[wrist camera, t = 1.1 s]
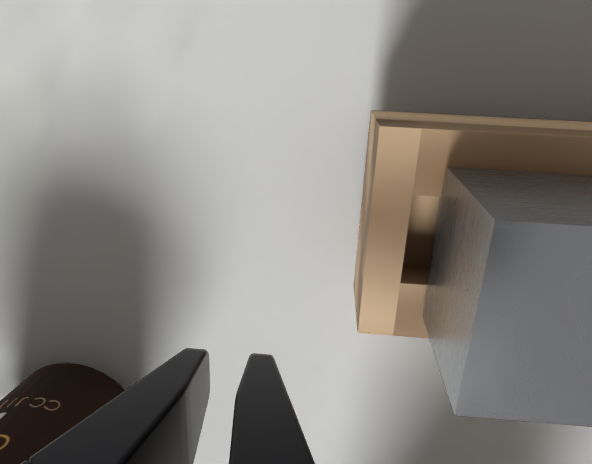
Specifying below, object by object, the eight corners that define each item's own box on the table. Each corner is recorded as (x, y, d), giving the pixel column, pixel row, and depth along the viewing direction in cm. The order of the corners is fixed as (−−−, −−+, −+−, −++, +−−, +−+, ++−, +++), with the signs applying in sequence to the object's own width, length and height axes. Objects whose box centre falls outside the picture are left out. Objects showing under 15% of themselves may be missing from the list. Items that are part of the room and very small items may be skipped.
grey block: (559, 305, 17) (669, 433, 11) (415, 294, 17) (454, 415, 12) (599, 165, 15) (753, 237, 10) (436, 155, 15) (495, 220, 10)
